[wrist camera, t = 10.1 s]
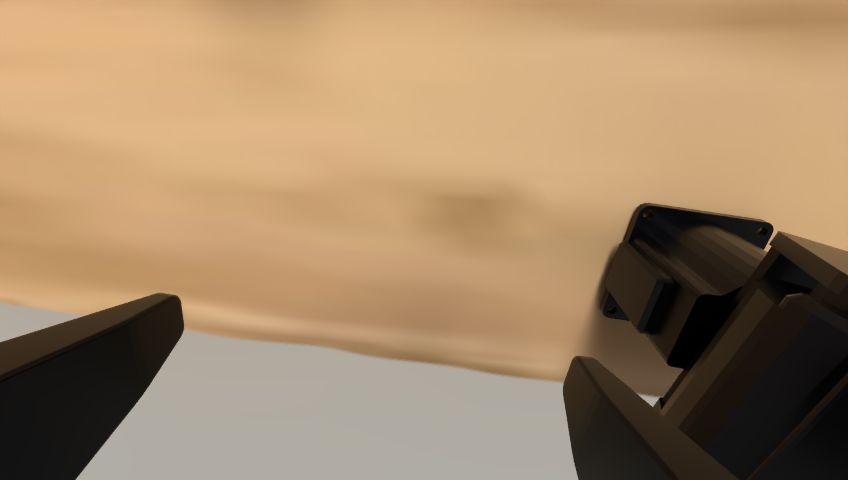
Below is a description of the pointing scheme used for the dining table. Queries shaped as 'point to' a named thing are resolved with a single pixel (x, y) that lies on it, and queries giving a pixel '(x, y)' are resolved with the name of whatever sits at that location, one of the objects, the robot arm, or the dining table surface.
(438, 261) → the dining table surface
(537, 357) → the dining table surface
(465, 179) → the dining table surface
